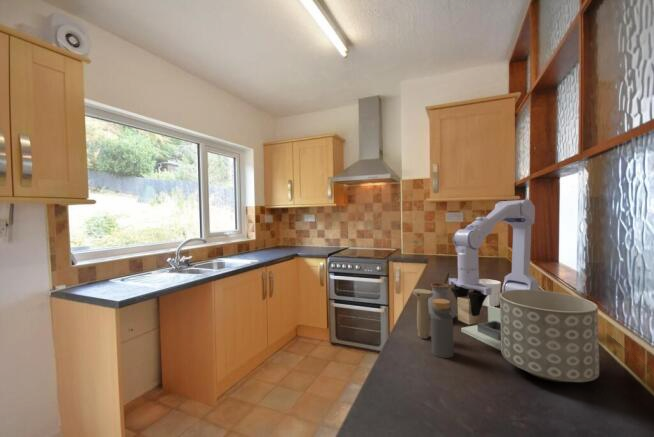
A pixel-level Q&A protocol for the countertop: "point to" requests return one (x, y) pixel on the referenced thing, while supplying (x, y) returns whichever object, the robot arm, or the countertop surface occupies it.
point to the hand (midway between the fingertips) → (469, 312)
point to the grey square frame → (490, 329)
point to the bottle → (442, 329)
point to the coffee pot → (440, 296)
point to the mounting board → (473, 331)
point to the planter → (550, 334)
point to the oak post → (466, 311)
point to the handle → (423, 311)
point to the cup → (495, 289)
